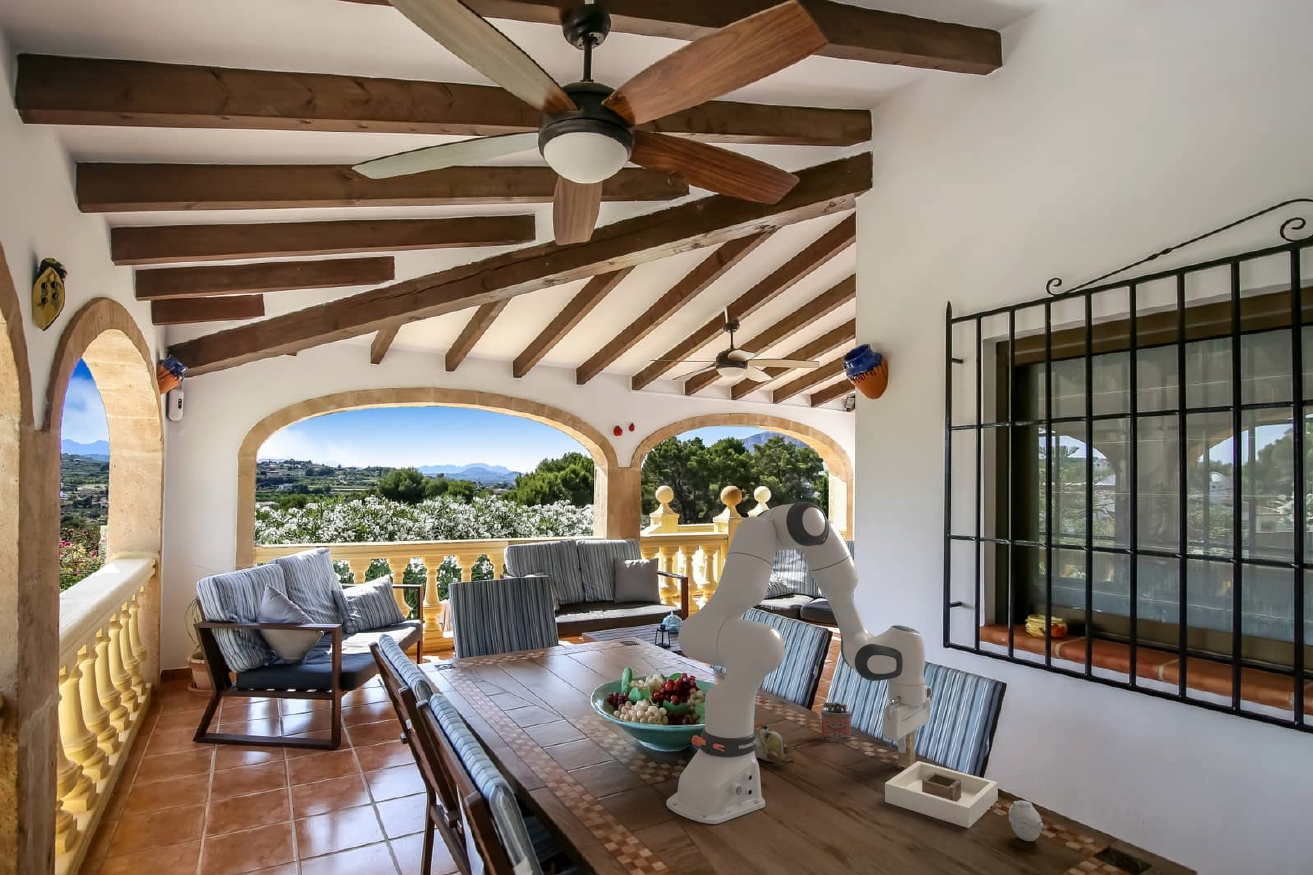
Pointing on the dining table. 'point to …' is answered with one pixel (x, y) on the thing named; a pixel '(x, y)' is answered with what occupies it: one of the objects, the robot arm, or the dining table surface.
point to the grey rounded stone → (1025, 820)
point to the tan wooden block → (908, 752)
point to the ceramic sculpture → (772, 746)
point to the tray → (942, 793)
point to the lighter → (835, 723)
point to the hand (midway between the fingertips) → (906, 749)
